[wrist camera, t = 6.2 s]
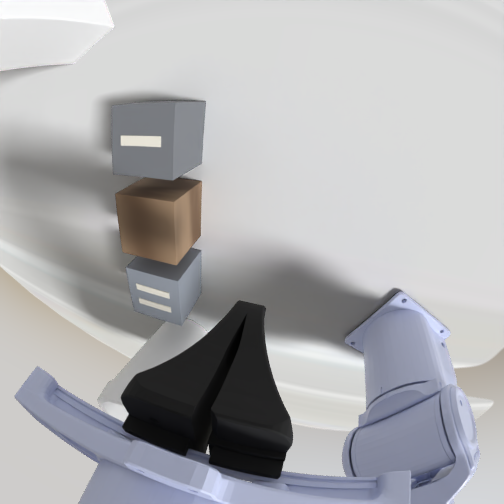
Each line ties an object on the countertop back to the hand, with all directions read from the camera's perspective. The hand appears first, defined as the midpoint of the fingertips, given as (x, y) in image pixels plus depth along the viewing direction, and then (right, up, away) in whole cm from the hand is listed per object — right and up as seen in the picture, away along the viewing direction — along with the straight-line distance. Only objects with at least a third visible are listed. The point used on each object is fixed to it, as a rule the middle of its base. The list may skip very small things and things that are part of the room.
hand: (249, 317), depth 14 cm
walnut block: (-7, +7, +10) cm, 14 cm away
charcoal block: (-6, +13, +7) cm, 16 cm away
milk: (-15, +25, +2) cm, 29 cm away
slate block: (-7, +2, +13) cm, 15 cm away
